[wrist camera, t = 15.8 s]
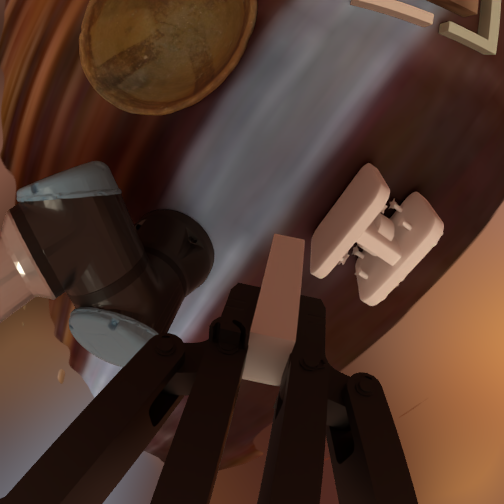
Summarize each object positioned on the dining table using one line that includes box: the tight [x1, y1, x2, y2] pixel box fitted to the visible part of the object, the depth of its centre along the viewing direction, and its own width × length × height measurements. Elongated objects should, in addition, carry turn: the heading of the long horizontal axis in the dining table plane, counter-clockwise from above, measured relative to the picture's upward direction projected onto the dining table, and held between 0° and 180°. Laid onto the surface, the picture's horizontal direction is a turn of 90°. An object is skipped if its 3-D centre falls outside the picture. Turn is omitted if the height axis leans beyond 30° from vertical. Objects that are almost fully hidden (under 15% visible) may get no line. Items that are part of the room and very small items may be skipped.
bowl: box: [79, 0, 258, 115], centre depth 30 cm, size 22×23×10 cm
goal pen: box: [439, 0, 501, 55], centre depth 23 cm, size 8×14×4 cm, turn 173°
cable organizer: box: [310, 163, 444, 306], centre depth 40 cm, size 15×11×12 cm
